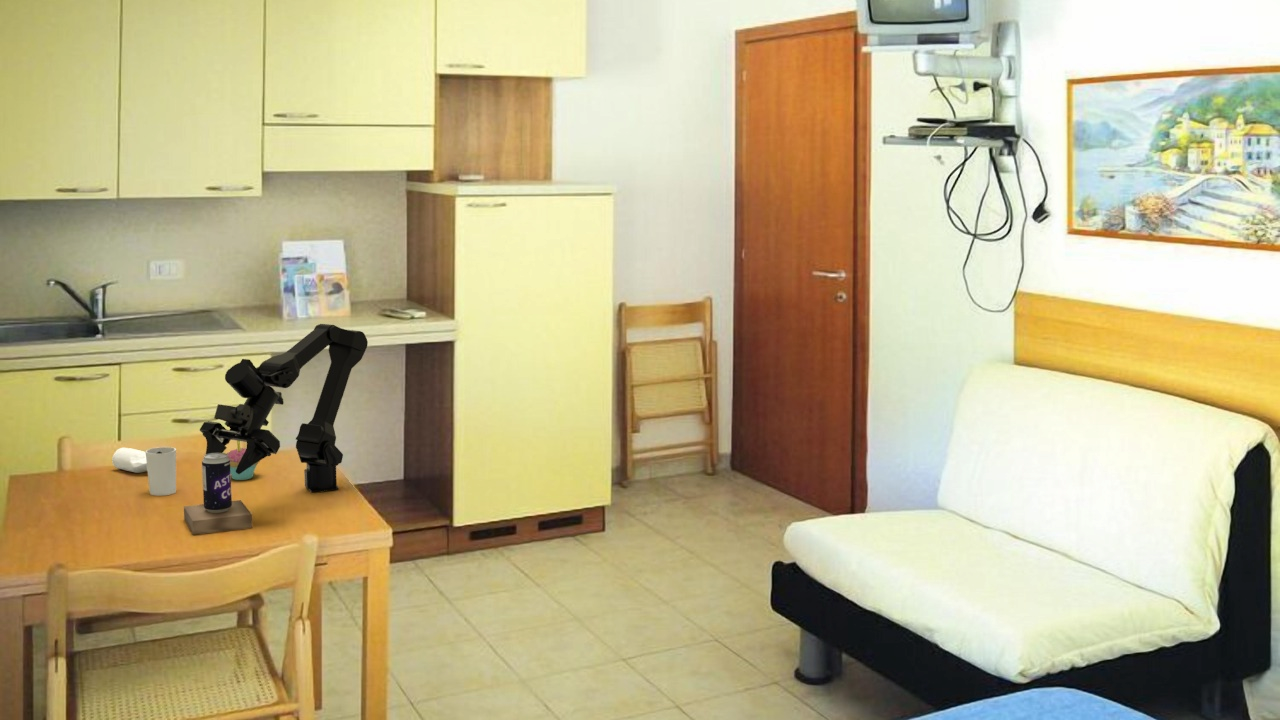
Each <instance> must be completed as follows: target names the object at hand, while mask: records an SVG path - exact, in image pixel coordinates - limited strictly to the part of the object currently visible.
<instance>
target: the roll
mask: <svg viewBox="0 0 1280 720" xmlns="http://www.w3.org/2000/svg"><path fill="white" fill-rule="evenodd" d="M111 461H112V465H113V467H114V468H116V469H118V470H123V471H127V472H132V473H136V474H139V473H140V474H141V473H144V472H148V471H147V461H146V451H143V450H140V449H139V450H138V449H136V448H130V447H120V448H118V449H117V450H115V451H114V453H113V455H112V459H111Z"/></svg>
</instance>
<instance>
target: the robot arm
mask: <svg viewBox="0 0 1280 720" xmlns="http://www.w3.org/2000/svg"><path fill="white" fill-rule="evenodd" d="M327 347H328V355H329V359H330V366H329V368H328V372H327V374H326V377H325V379H324V384H323V386H322V389H321V392H320V395H319V397H318V398H319V399H318V402H317V404H316V408H315V410H314V414H313V417H312V419H311V420H310V421H309V422H308V423H301V425H300V426H299V429H298V434H297V436H296V437H295V440H296V443H295V449H296V451H297V454H298V458H299V460H300V463H305V464H306V468H305V469H304V472H303V473H304V474H303V475H304V486H305V488H307V490H308V491H309V492H310V493H320V492H328V491H330V492H331V491H337V490H339V488H340V487H339V486H338V485H337V466H339V465H340V464H341V463H342V462H343V457H344V454H343V452H342V451H340V449H339V448H338V447H337V446H336V441H337V436H336V431H335V427H334V426H335V422H336V421H335V420H336V418H337V415H338V411H339V409H340V406H341V402H342V401H343V400H342V399H343V398H344V397H343V396H344V394H345V390H346V387H347V385H348V381H349V378H350V374H351V372H352V369H353V368H354V367H355V366H357V364H358V363H359V362H361V361H362V360H363V356H364V355H365V353H366V350H367V348H368V339H367V337H366V335H365V332H363V331H361V330H353V329H344V328H341V327H339V326H337V325H335V324H329V323H327V324H326V323H320V324H317V325H316V326H314V328H313V330H311V331H310V332H309V333H308V334H307V335H306V336H305V337H303V338H302V339H300V340H299V341H298V342H297V343H295V345H293V346H292V347H291V348H289V349H288V350H287V351H286V352H283V353H282V354H278V355H274V356H272V357H270V358H268V359H266V360H265V359H264V360H263V361H262V362H261V363H260V365H259V366H257V367H256V366H255V365H254V363H253V362H252V361H251V359H248V358H242V359H241V360H240V362H238V363H235V364H234V365H232V366H231V367H230V368H228V369H227V370H226V372H225V375H224V380H225V382H226V383H227V385H229V386H230V387H231V388H232V389H233V390H234V391H235V392H236V394H238V395H239V396H240V398H243V399H246V400H245V401H244V403H242V404H241V403H239V404H238V405H237V406H232V405H226V404H217V406H216V410H215V414H214V417H213V418H214V419H215V420H221V421H224V425H225V426H226V427H228V428H229V429H227V428H226V427H225V426H223V424H222V423H220V422H217V421H210V420H207V421H205V422H203V423H202V425H201V427H200V428H199V431H200V433H202V436H203V438H205V440H206V450H205V455H206V454H210V453H225V451H226V450H227V446H226V445H229V443H230V441H231V440H232V441H236V442H237V441H240V442H244V443H246V448H245V449H246V451H245V453H244V454H243V456H242V458H241V460H240V462H239V464H238V466H237V469H236V473H237V474H241V473H242V472H243V471H245V470H246V469H248V468H249V467H251V466H252V465H254V464H255V463H257V462H258V461H260V462H261V461H262V460H263V459H265V458H267V457H271V456H272V454H273V455H274V454H275V455H277V453H278V452H279V450H280V448H281V441H280V440H279V439H278V438H277V437H276V436H275V435H274V434H273V433H272V432H271V430H269V429H262V428H263V426H264V427H267V426H268V424H269V423H270V421H268V419H267V418H268V416H269V415H270V413H271V410H273V408H274V406H275V405H280V406H281V405H284V404H285V403H284V398H283V396H282V392H281V391H276V390H275V389H274V388H280V389H281V388H282V389H287V388H290V387H291V386H292V385H293V384H294V382H295V381H297V379H298V378H299V376H300V372H301V369H302V368H303V367H304V366H305V365H306V364H307V363H309V362H310V361H311V360H312V359H313V358H315V357H316V356H317V355H318V354H320V353H321V352H323V350H324V349H326V348H327Z"/></svg>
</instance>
